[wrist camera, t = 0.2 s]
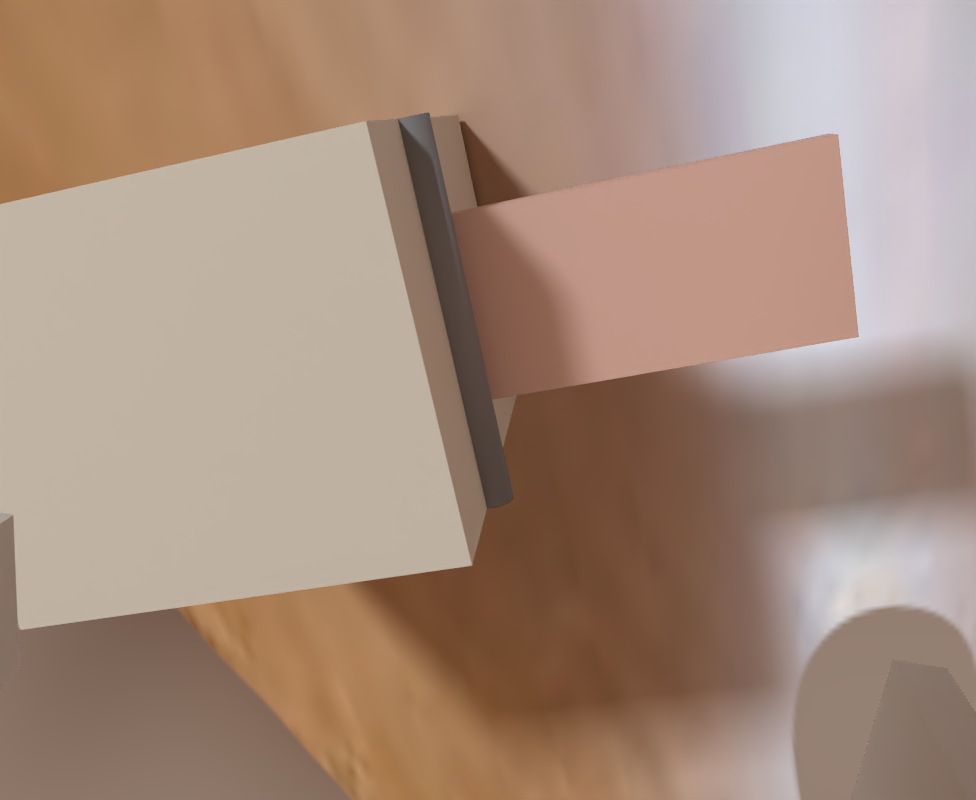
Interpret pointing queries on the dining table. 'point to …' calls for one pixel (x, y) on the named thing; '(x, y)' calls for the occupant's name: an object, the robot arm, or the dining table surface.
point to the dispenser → (245, 376)
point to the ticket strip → (661, 268)
